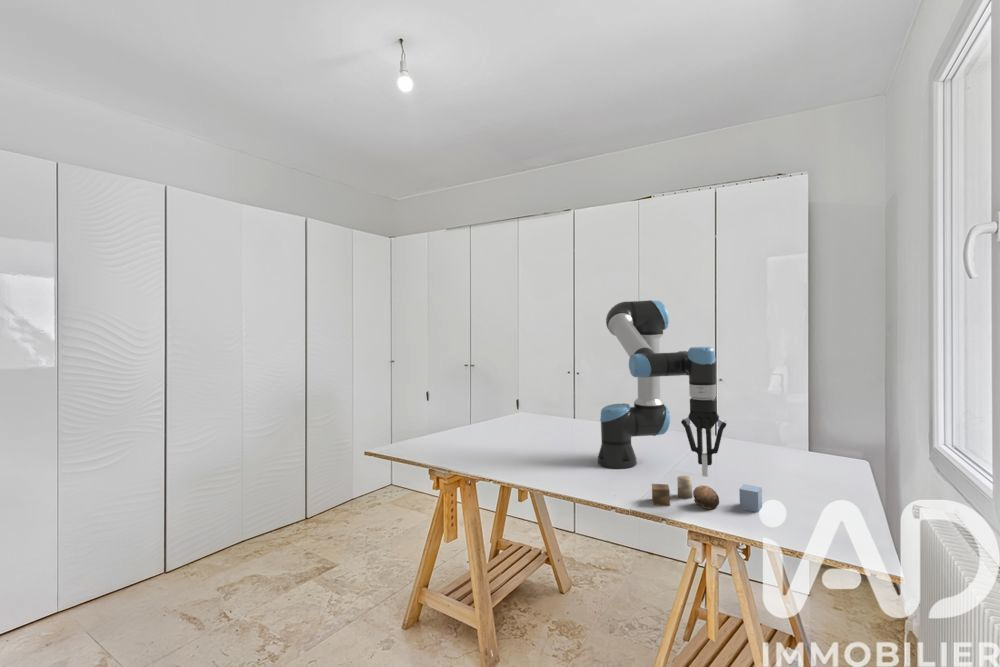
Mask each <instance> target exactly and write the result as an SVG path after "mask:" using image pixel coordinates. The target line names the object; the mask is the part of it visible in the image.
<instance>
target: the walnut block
mask: <svg viewBox="0 0 1000 667" xmlns="http://www.w3.org/2000/svg"><path fill="white" fill-rule="evenodd" d="M670 492H671V491H670V487H669V484H665V483H663V484H662V483H651V500H652V505H653V506H664V507H665V506H671V496H670V495H671V494H670Z"/></svg>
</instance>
